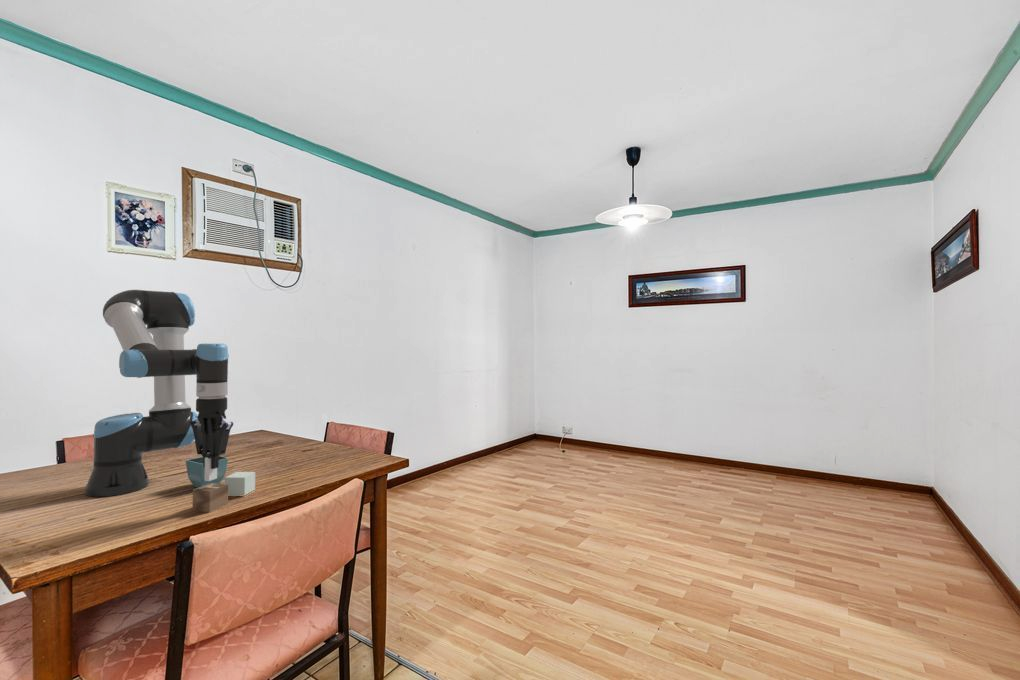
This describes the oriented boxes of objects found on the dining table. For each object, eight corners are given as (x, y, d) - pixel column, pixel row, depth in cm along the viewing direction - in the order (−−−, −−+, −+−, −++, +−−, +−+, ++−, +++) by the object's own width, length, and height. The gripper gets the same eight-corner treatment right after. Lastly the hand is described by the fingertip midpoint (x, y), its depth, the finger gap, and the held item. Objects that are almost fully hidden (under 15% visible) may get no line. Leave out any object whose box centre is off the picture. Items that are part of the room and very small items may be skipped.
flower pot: (228, 484, 151) (229, 457, 151) (201, 492, 143) (201, 463, 143) (212, 480, 154) (212, 454, 154) (184, 488, 146) (184, 460, 146)
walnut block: (210, 491, 126) (209, 512, 126) (228, 484, 132) (228, 505, 132) (192, 489, 128) (192, 510, 128) (211, 482, 134) (211, 503, 134)
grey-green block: (224, 497, 139) (224, 477, 139) (236, 490, 145) (236, 471, 145) (244, 497, 139) (244, 477, 139) (255, 490, 145) (255, 471, 145)
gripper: (181, 397, 128) (180, 481, 128) (219, 399, 125) (218, 485, 125) (205, 394, 135) (204, 474, 135) (241, 396, 132) (240, 477, 132)
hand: (210, 479), depth 130 cm, fingers closed
